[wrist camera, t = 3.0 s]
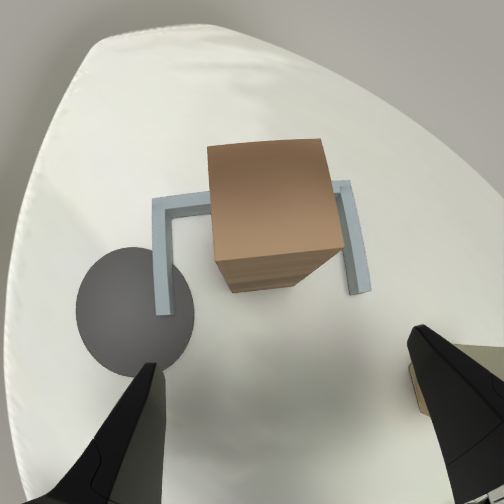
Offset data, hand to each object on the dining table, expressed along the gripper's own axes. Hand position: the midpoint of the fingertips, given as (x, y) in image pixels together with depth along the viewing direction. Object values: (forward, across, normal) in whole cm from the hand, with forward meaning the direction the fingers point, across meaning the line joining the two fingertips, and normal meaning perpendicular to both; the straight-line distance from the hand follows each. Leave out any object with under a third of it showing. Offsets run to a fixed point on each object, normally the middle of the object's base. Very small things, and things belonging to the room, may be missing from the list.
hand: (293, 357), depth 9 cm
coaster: (+10, +10, +7) cm, 16 cm away
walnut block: (+12, 0, +4) cm, 13 cm away
